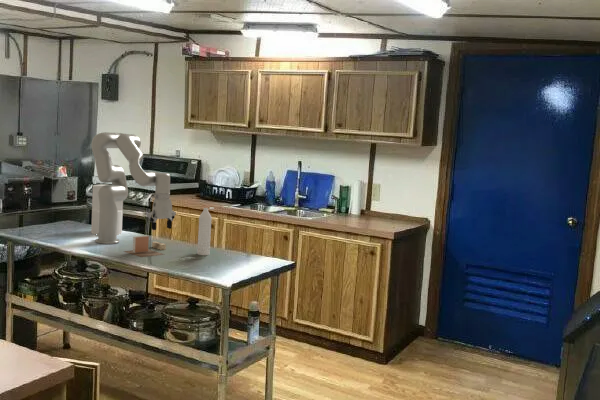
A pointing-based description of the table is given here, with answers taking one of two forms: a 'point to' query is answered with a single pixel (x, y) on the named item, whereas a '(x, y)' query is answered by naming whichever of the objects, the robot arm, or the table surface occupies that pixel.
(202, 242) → the water bottle
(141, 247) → the tile
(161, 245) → the turner
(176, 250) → the table surface
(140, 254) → the board
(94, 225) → the cylinder
